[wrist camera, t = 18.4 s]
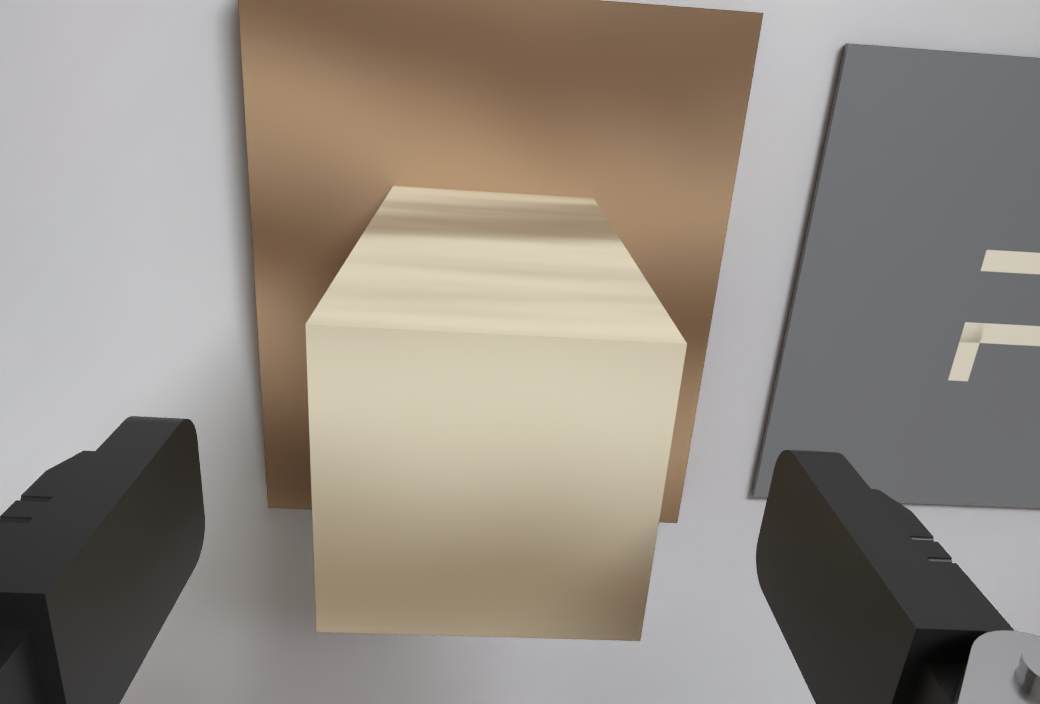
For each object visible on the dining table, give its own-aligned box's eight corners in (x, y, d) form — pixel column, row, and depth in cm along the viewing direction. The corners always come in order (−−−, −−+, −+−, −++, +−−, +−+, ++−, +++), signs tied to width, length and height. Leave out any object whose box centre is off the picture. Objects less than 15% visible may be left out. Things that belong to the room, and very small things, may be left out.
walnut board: (249, -25, 18) (236, -28, 18) (750, 13, 19) (763, 12, 18) (277, 488, 24) (268, 507, 23) (669, 504, 24) (677, 523, 23)
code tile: (845, 43, 19) (848, 43, 19) (1335, 80, 20) (1343, 80, 20) (751, 493, 24) (753, 497, 24) (1150, 509, 25) (1155, 513, 25)
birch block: (392, 185, 19) (305, 324, 10) (593, 198, 20) (687, 343, 10) (391, 371, 21) (316, 631, 12) (575, 380, 22) (640, 640, 12)
